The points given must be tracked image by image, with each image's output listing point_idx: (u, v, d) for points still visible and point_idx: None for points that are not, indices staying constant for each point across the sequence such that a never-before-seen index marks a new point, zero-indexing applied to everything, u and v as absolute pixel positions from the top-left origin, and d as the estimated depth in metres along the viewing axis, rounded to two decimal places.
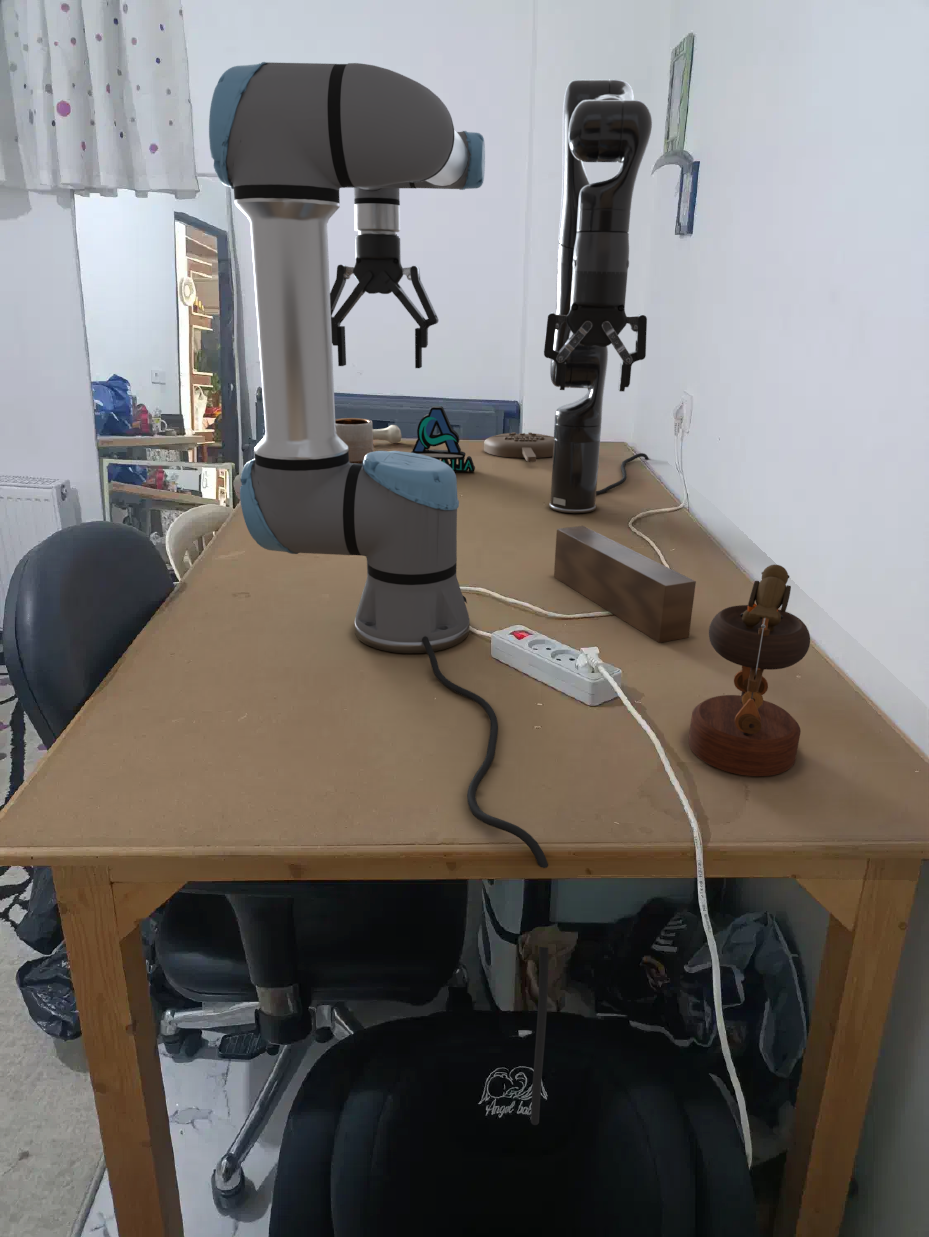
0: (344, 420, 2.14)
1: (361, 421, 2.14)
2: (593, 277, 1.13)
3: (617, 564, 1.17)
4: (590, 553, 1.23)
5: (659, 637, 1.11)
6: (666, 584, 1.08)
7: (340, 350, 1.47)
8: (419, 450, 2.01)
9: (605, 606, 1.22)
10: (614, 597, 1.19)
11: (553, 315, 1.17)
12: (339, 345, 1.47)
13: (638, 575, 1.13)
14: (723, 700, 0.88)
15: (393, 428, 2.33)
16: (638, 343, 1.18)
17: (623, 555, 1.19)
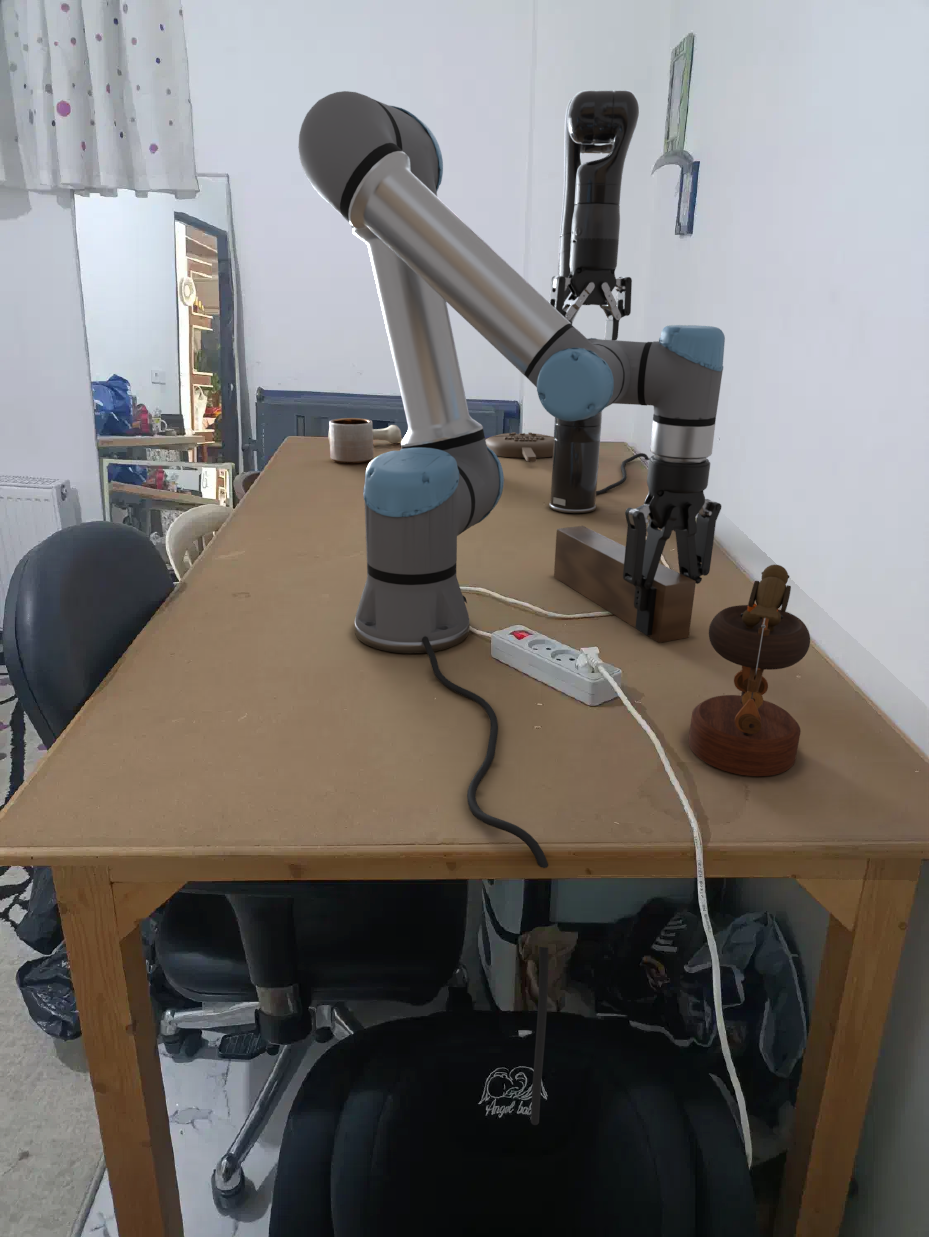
0: (344, 420, 2.14)
1: (361, 421, 2.14)
2: (601, 243, 1.31)
3: (617, 564, 1.17)
4: (590, 553, 1.23)
5: (659, 637, 1.11)
6: (666, 584, 1.08)
7: (652, 616, 1.11)
8: None
9: (605, 606, 1.22)
10: (614, 597, 1.19)
11: (563, 277, 1.33)
12: (651, 610, 1.11)
13: None
14: (723, 700, 0.88)
15: (393, 428, 2.33)
16: (625, 301, 1.39)
17: (623, 555, 1.19)
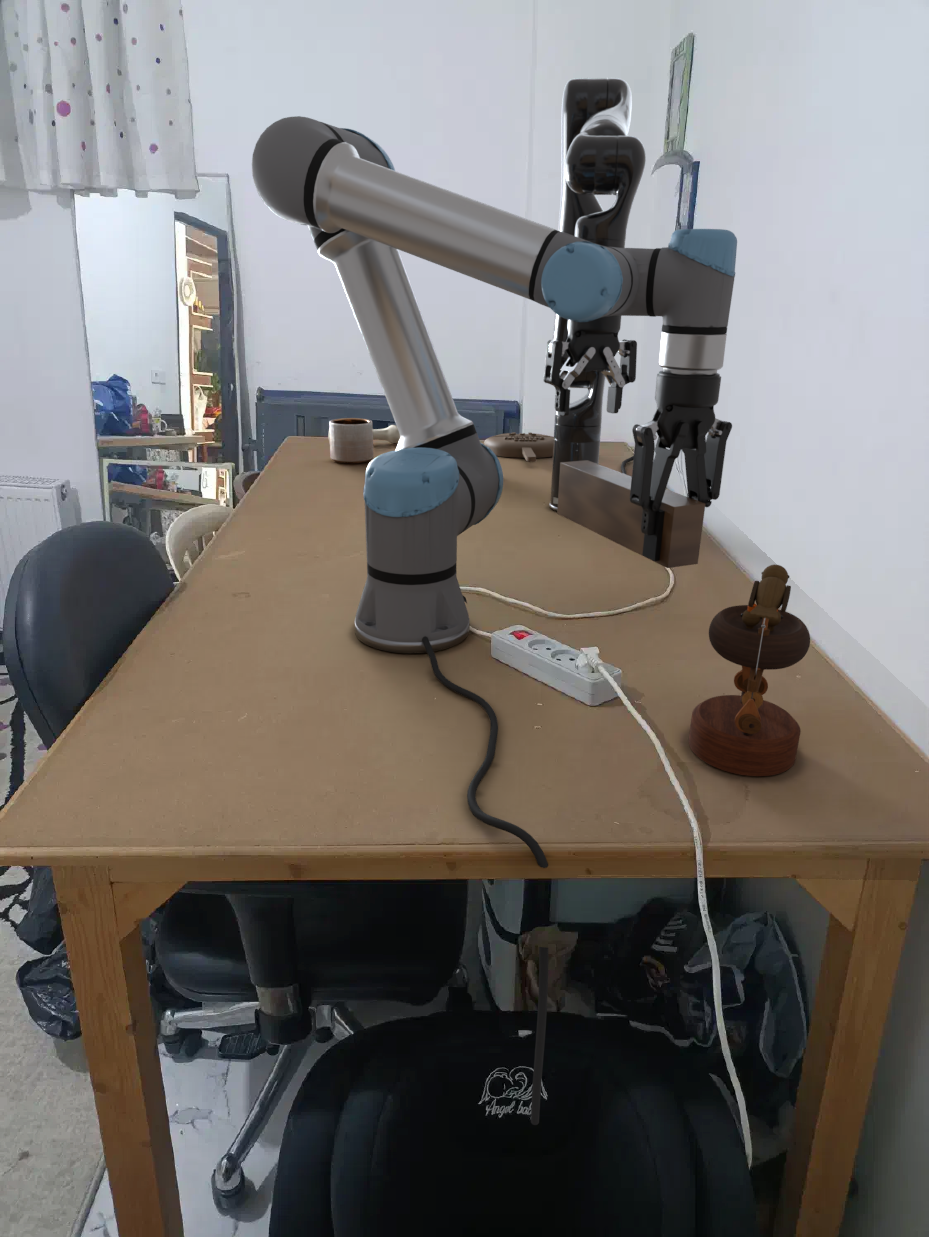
0: (344, 420, 2.14)
1: (361, 421, 2.14)
2: None
3: (623, 490, 1.13)
4: (595, 483, 1.19)
5: (667, 562, 1.07)
6: (675, 506, 1.04)
7: (659, 541, 1.07)
8: None
9: (610, 537, 1.18)
10: (620, 526, 1.15)
11: (560, 342, 1.18)
12: (659, 534, 1.07)
13: None
14: (723, 700, 0.88)
15: (393, 428, 2.33)
16: (630, 367, 1.24)
17: (629, 483, 1.15)
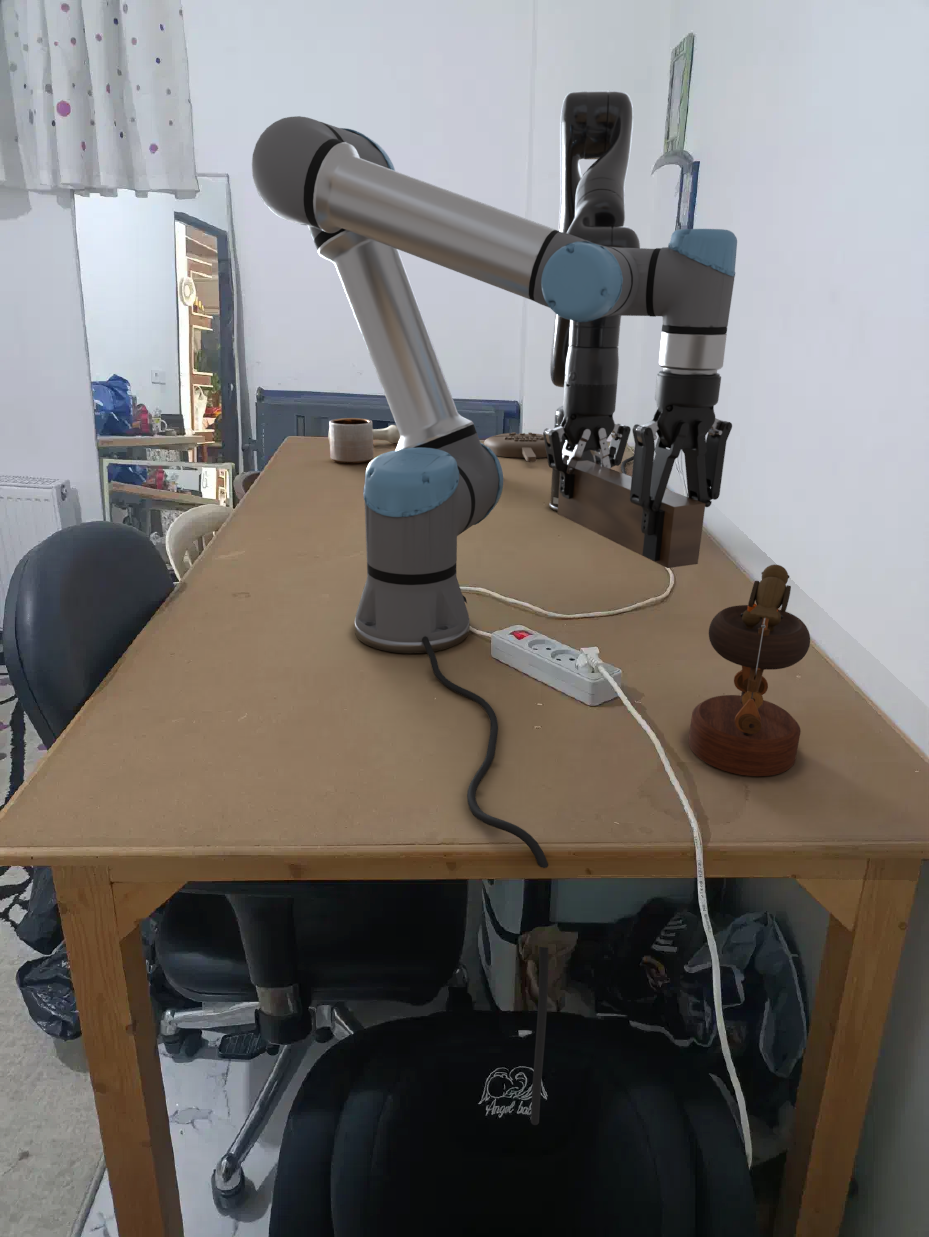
0: (344, 420, 2.14)
1: (361, 421, 2.14)
2: (597, 390, 1.18)
3: (624, 490, 1.13)
4: (595, 483, 1.19)
5: (667, 562, 1.07)
6: (675, 506, 1.04)
7: (659, 541, 1.07)
8: None
9: (611, 537, 1.18)
10: (620, 526, 1.15)
11: (555, 432, 1.20)
12: (659, 534, 1.07)
13: None
14: (723, 700, 0.88)
15: (393, 428, 2.33)
16: (618, 450, 1.26)
17: (629, 483, 1.15)
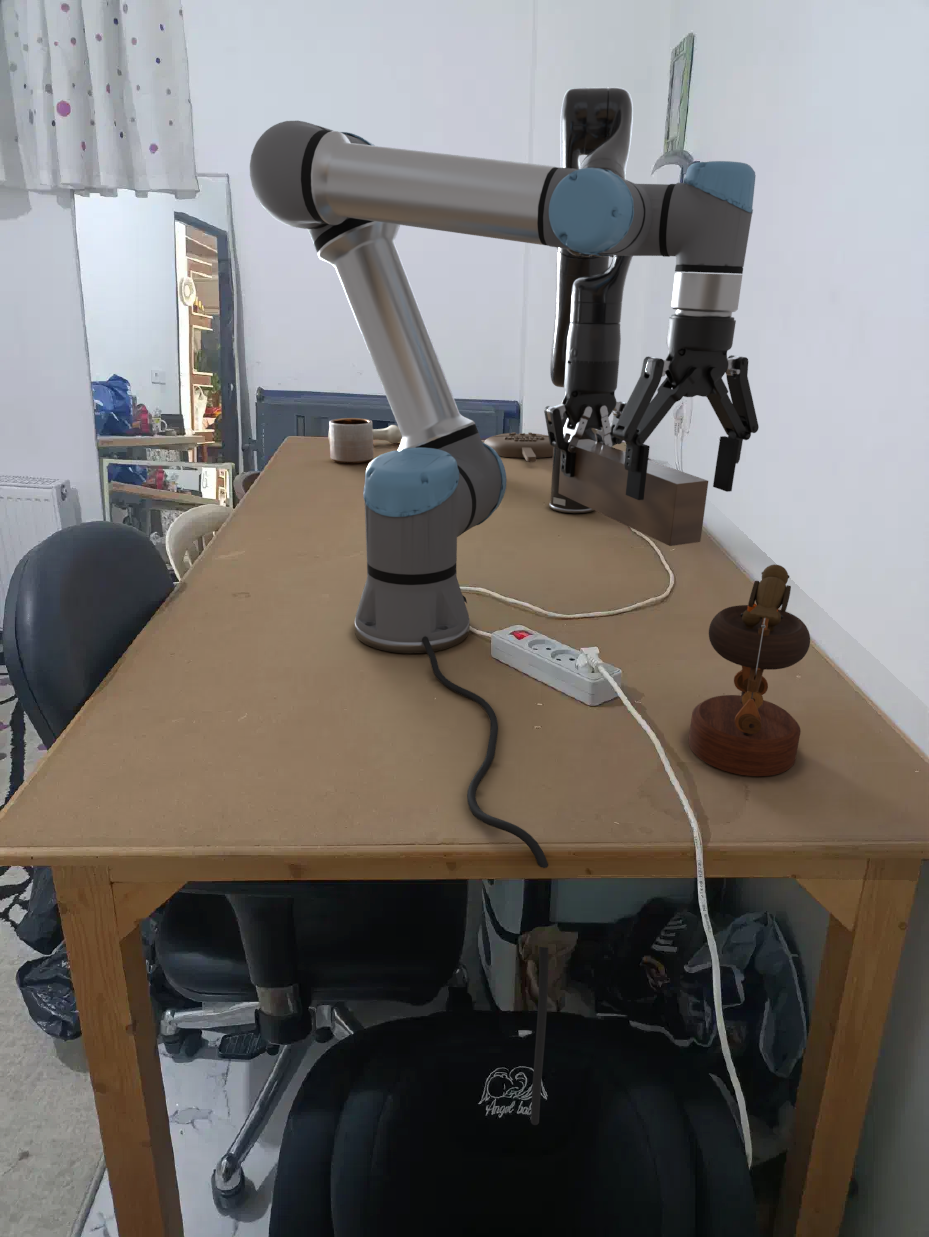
0: (344, 420, 2.14)
1: (361, 421, 2.14)
2: (599, 367, 1.17)
3: None
4: (596, 461, 1.18)
5: (670, 540, 1.06)
6: (678, 483, 1.03)
7: (644, 478, 1.01)
8: None
9: (612, 516, 1.17)
10: (622, 505, 1.14)
11: (556, 410, 1.19)
12: (643, 471, 1.01)
13: (648, 477, 1.08)
14: (723, 700, 0.88)
15: (393, 428, 2.33)
16: None
17: None
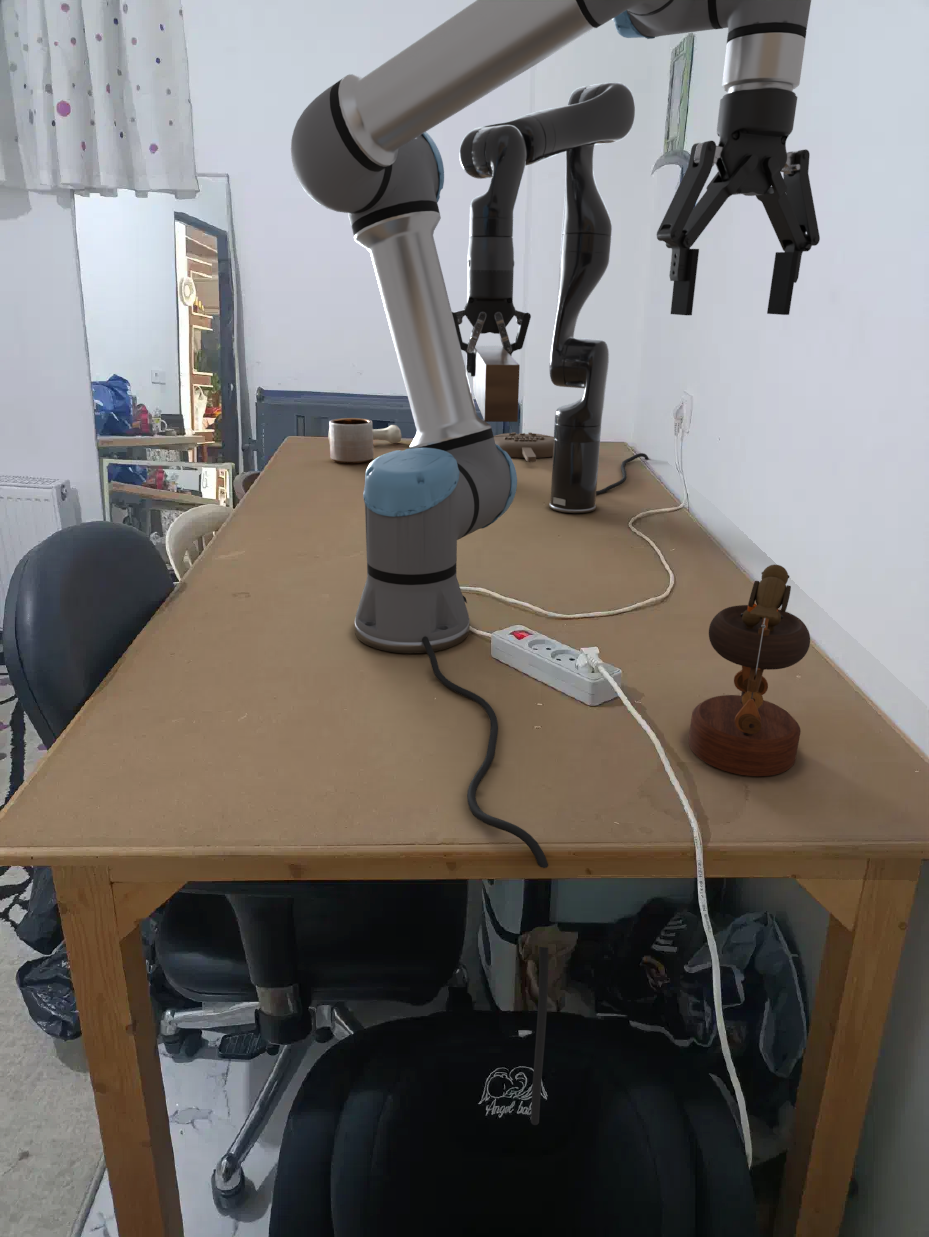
0: (344, 420, 2.14)
1: (361, 421, 2.14)
2: (485, 275, 1.34)
3: (480, 359, 1.29)
4: (477, 358, 1.36)
5: (484, 416, 1.22)
6: (488, 364, 1.20)
7: (692, 288, 0.89)
8: None
9: (478, 404, 1.34)
10: (479, 393, 1.31)
11: (453, 313, 1.38)
12: (692, 280, 0.89)
13: (482, 363, 1.25)
14: (723, 700, 0.88)
15: (393, 428, 2.33)
16: (519, 335, 1.40)
17: (492, 355, 1.31)
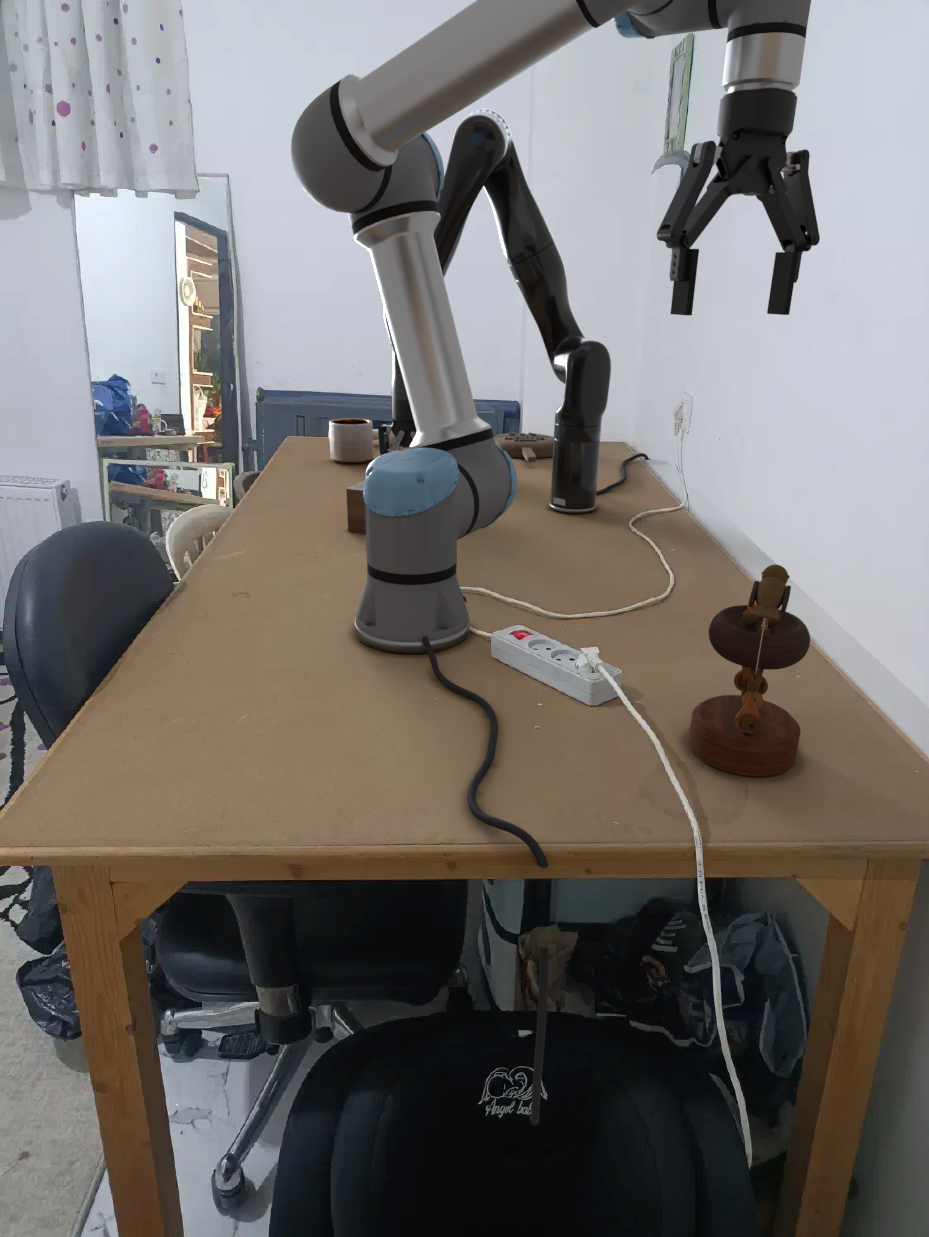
0: (344, 420, 2.14)
1: (361, 421, 2.14)
2: (398, 403, 1.66)
3: None
4: None
5: (348, 527, 1.56)
6: (349, 488, 1.53)
7: (692, 288, 0.89)
8: None
9: None
10: None
11: (381, 427, 1.72)
12: (692, 280, 0.89)
13: None
14: (723, 700, 0.88)
15: None
16: None
17: None
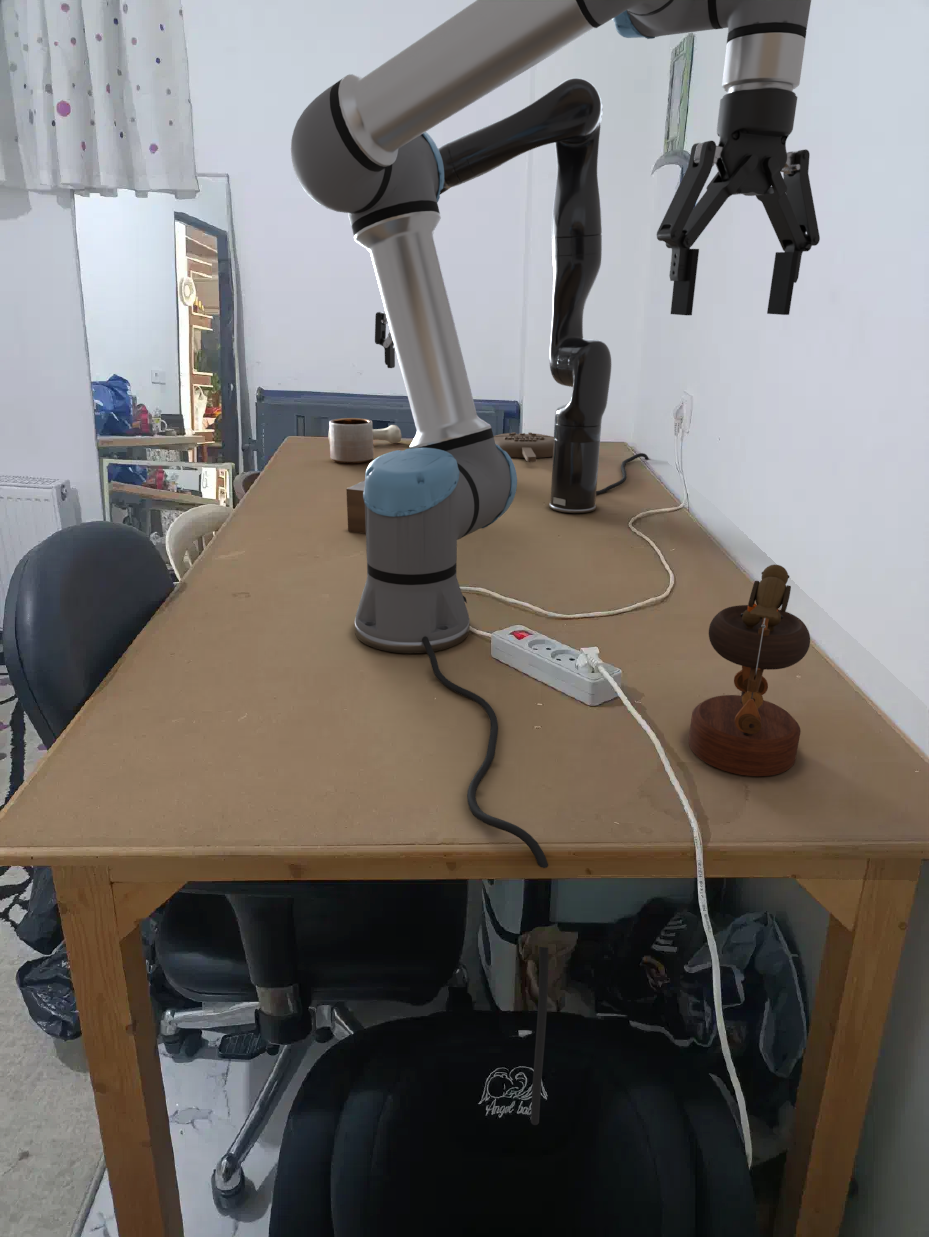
0: (344, 420, 2.14)
1: (361, 421, 2.14)
2: None
3: None
4: None
5: (348, 527, 1.56)
6: (349, 488, 1.53)
7: (692, 288, 0.89)
8: None
9: None
10: None
11: (379, 313, 1.64)
12: (692, 280, 0.89)
13: None
14: (723, 700, 0.88)
15: (393, 428, 2.33)
16: None
17: None
